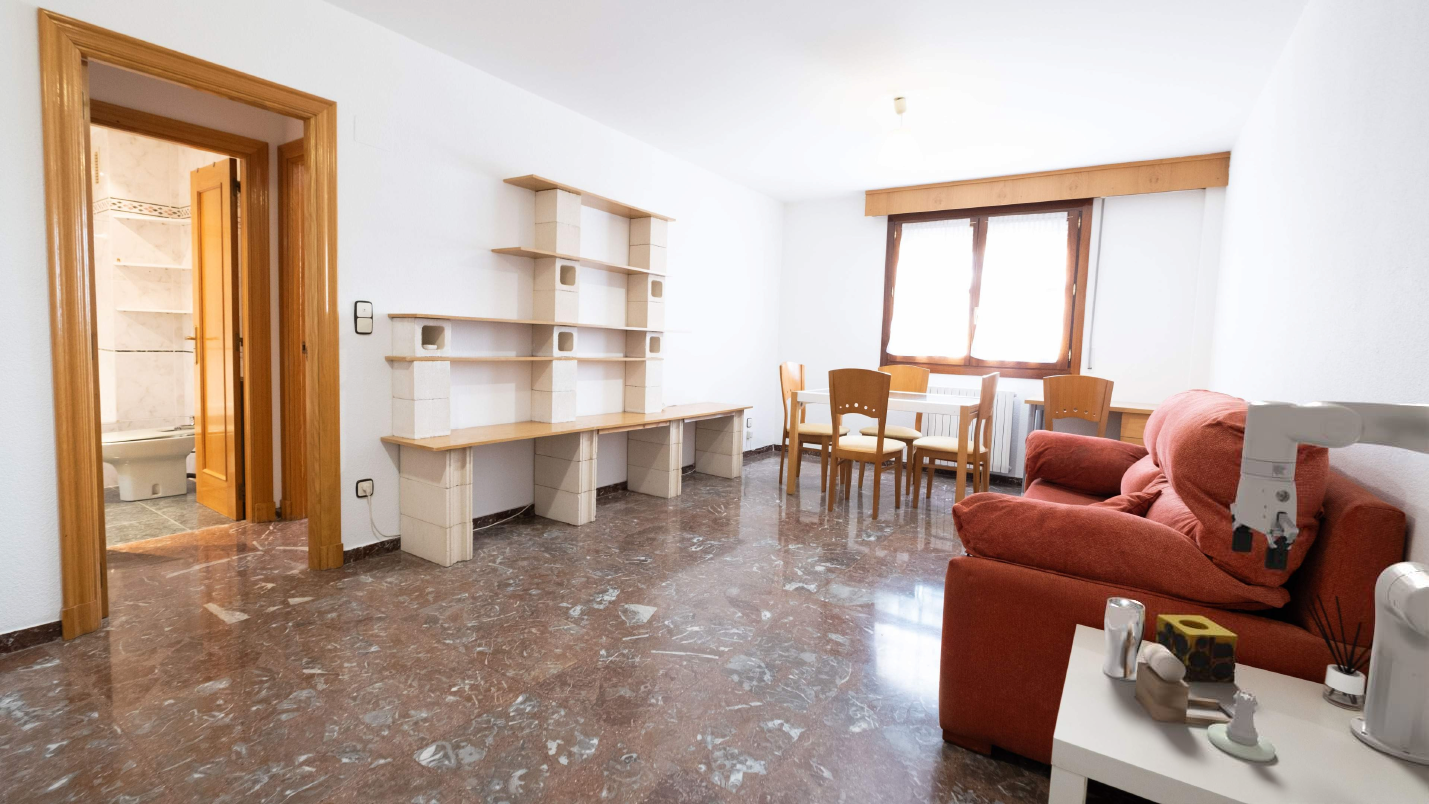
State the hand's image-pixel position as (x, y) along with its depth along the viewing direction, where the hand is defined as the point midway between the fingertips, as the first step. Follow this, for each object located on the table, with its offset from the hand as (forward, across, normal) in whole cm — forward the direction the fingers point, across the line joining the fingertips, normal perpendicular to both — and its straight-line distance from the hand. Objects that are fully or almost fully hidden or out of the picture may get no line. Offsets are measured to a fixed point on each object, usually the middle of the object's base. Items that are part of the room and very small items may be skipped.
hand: (1257, 560), depth 122 cm
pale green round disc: (+28, -14, +8) cm, 33 cm away
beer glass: (+28, +8, +18) cm, 35 cm away
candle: (+29, +13, +2) cm, 31 cm away
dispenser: (+28, -5, +12) cm, 31 cm away
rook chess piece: (+28, -14, +8) cm, 32 cm away
